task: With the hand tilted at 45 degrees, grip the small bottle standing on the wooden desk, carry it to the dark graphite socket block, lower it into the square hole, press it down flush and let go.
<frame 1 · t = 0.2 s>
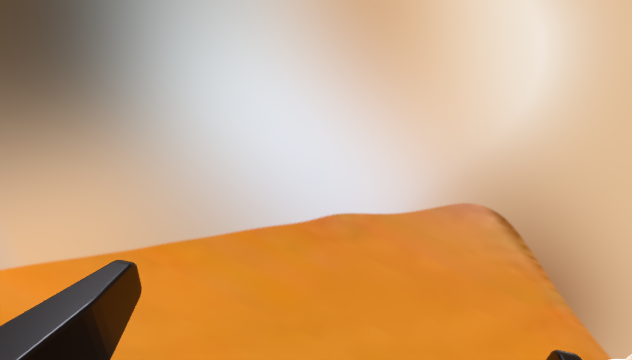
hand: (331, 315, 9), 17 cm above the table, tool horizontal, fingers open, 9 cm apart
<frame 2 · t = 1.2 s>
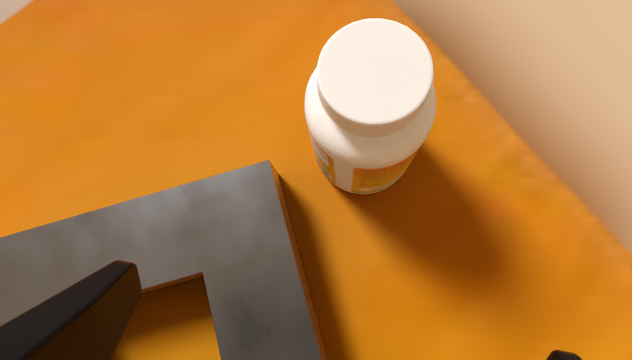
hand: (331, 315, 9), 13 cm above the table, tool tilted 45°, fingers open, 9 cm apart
socket block: (170, 356, 22), on the table
supplement bottle: (362, 149, 24), on the table
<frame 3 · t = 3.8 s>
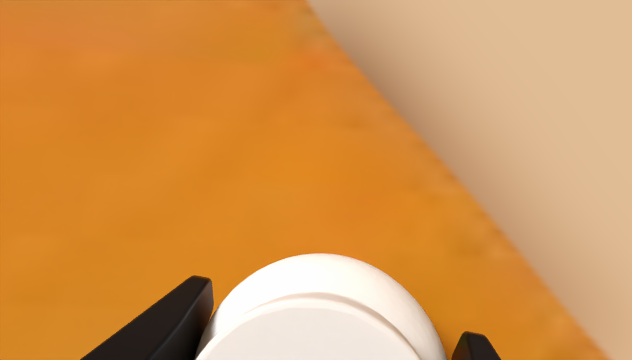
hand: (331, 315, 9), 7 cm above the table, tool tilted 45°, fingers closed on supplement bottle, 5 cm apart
supplement bottle: (330, 331, 15), on the table, touching gripper
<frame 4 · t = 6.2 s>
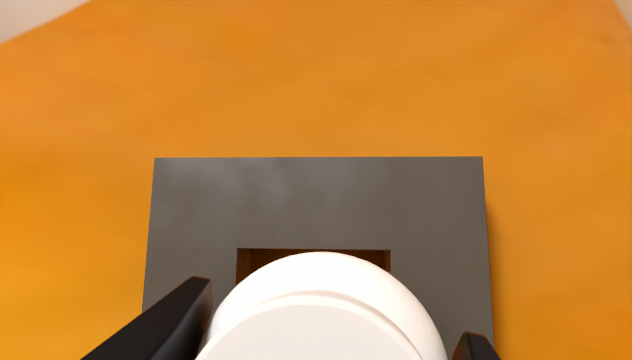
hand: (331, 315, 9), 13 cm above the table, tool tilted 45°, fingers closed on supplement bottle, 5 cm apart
socket block: (316, 319, 22), on the table
supplement bottle: (332, 330, 15), point 6 cm above the table, touching gripper
when the fingers open (7 cm above the table, at t = 8.5 s): supplement bottle stays where it is, resting in socket block.
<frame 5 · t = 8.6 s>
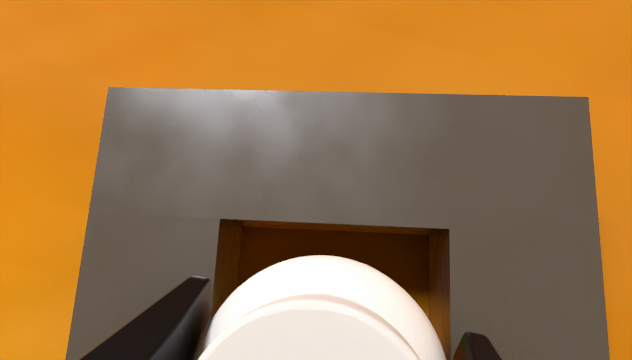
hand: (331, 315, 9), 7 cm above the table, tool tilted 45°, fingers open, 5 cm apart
socket block: (330, 328, 15), on the table
supplement bottle: (331, 332, 15), resting in socket block
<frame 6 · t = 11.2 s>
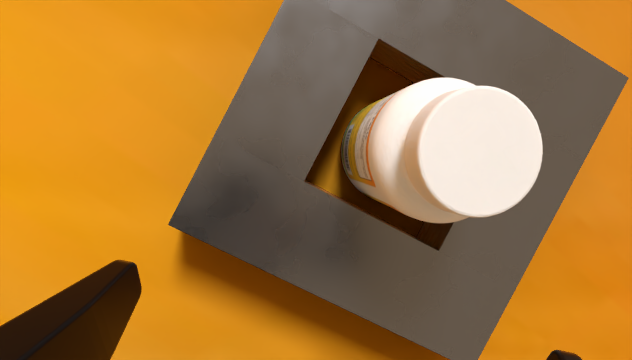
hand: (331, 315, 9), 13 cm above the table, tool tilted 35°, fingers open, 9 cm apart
socket block: (390, 147, 22), on the table
supplement bottle: (388, 150, 22), resting in socket block
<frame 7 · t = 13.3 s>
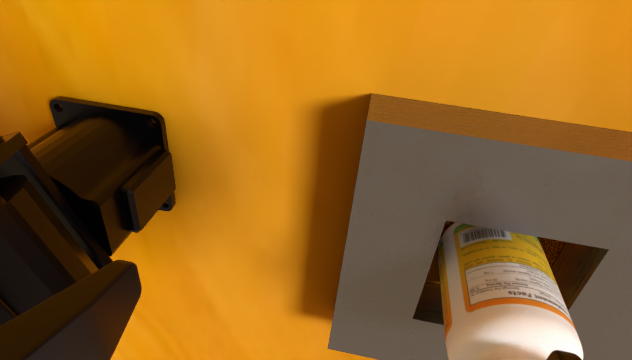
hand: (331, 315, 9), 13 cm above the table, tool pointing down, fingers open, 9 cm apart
socket block: (489, 247, 23), on the table
supplement bottle: (485, 244, 23), resting in socket block
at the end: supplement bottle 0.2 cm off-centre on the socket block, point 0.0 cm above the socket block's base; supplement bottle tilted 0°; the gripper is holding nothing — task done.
